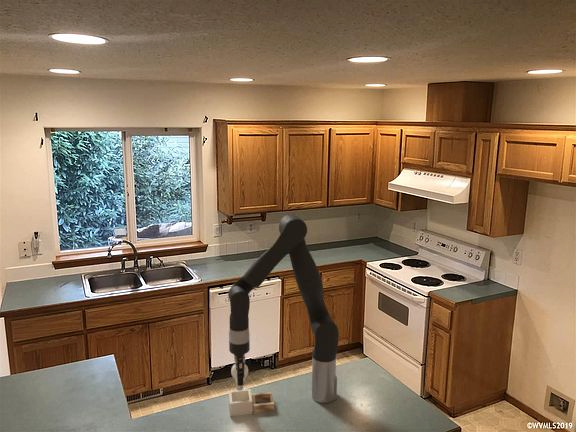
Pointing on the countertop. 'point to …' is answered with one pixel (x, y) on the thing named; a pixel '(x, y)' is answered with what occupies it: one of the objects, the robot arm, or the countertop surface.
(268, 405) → the wooden frame
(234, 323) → the robot arm
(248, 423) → the countertop surface
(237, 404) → the cream open cubby box
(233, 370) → the lightbulb
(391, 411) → the countertop surface
